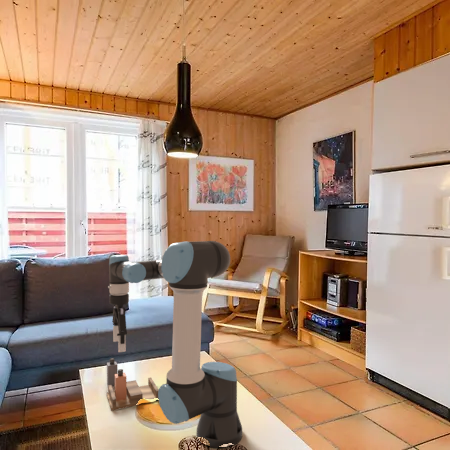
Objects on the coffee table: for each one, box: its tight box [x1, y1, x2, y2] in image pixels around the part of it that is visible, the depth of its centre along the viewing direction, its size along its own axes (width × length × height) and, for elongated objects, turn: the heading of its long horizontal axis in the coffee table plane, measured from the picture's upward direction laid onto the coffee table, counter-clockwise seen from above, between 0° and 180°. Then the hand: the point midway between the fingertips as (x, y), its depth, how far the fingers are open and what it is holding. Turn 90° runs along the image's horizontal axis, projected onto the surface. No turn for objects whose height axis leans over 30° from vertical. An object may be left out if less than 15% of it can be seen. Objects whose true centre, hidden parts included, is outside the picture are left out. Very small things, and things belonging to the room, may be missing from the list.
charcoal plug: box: [106, 357, 119, 387], centre depth 162 cm, size 4×4×11 cm
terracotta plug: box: [114, 368, 127, 401], centre depth 146 cm, size 4×4×11 cm
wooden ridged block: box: [106, 377, 159, 411], centre depth 149 cm, size 14×19×4 cm
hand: (119, 346), depth 148 cm, fingers open, 13 cm apart
